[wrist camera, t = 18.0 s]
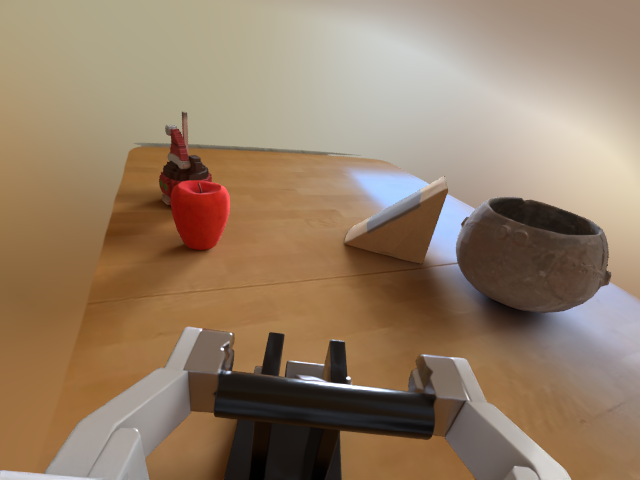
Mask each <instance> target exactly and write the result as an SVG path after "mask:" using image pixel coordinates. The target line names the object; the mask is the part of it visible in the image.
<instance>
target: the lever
mask: <svg viewBox="0 0 640 480" xmlns="http://www.w3.org/2000/svg"><path fill="white" fill-rule="evenodd" d="M323 370H324V365H321V364H312V363H304V362H295V361H287V364H286V371H285V377H280V376H272V375H263V374H254V373H246V372H237V371H229V370H225V371H223V373H222V375H221V377H220V380H219V384H218V387H217V392H216V396H215V402H214V416H215V417H219V418H228V419H238V420H247V421H256V422H266V423H275V424H284V425H293V426H303V427H312V428H321V429H331V430H340V431H349V432H358V433H368V434H377V435H386V436H396V437H405V438H414V439H423V440H428V439H430V438H431V437H432V435H433V433H434V428H435V411H434V406H433V403H432V400H431V398H430V396H429V395H427V394H426V393H418V392H409V391H401V390H392V389H383V388H375V387H366V386H358V385H349V384H340V383H332V382H326V381H324V380H323Z"/></svg>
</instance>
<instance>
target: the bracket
mask: <svg viewBox="0 0 640 480" xmlns="http://www.w3.org/2000/svg"><path fill="white" fill-rule="evenodd" d="M283 343H284V334H280V333H272V332H270V333H269V337H268V342H267V346H266V351H265V356H264V361H263V366H256V367H255V370H254V374H263V375H272V376H279V372H280V364H281V357H282V350H283ZM323 380H324V381H326V382H332V383H340V384H349V385H351V378H350V377H348V376H347V365H346V351H345V342H344V341H337V340H330V342H329V347H328V351H327V356H326V360H325V365H324V370H323ZM224 480H342V478H341V453H340V430H331V429H321V428H312V427H303V426H293V425H284V424H275V423H266V422H256V421H247V420H238V423H237V427H236V432H235V436H234V440H233V444H232V448H231V452H230V456H229V460H228V464H227V468H226V472H225V477H224Z"/></svg>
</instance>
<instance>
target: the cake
mask: <svg viewBox="0 0 640 480" xmlns="http://www.w3.org/2000/svg"><path fill="white" fill-rule="evenodd" d="M165 129H166V134H167V135H170V136H171V143H172V144H171V147H170V150H171V152H170V153H169V154H168V160H169V161H170V162H167V164H166V166H164V168H163V172H161V175H160V179H159V183H160V188H161V191H162V192H163V193H164V194H162V195H163V197H162V201H163V202H165V203H166V204H167V205H171V203H170V202H171V193H172V190H173V188H174V186H175V185H177V184H179V183H181V182H183V181H190V180H201V181H208V182H212V177H211V174H210V173H208V168H207V167H205V165H203V164H202V162H201V160H200V158H199V157H197V156H196V155H192V156H188V129H187V113H186V112H182V129H183V137H182V134H181V132H180V131H179V129H177V126H175V125H166V127H165Z"/></svg>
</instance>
